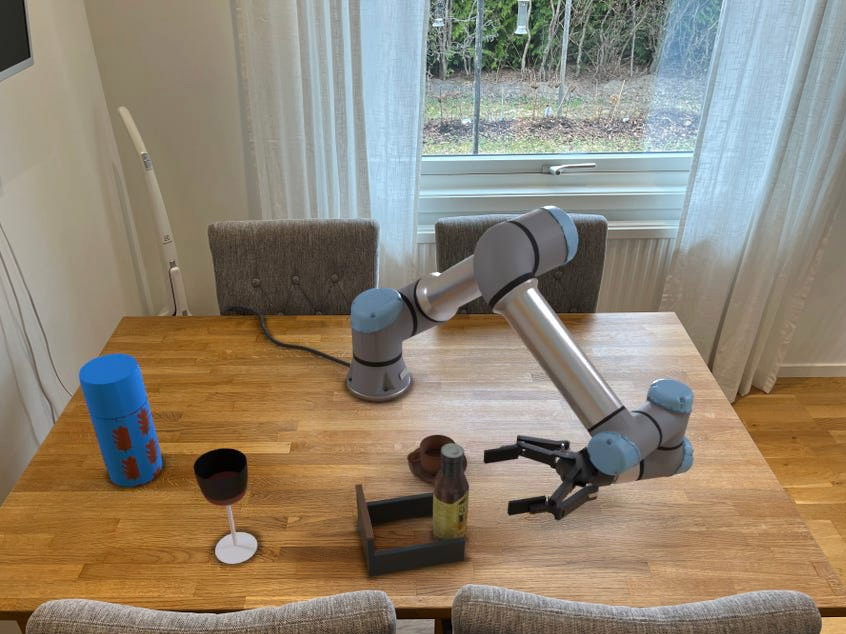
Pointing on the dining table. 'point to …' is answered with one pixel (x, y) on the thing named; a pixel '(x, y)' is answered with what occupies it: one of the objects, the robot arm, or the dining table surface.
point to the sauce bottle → (450, 495)
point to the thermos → (121, 418)
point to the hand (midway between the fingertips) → (495, 481)
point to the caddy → (405, 555)
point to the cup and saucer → (429, 458)
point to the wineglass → (226, 497)
